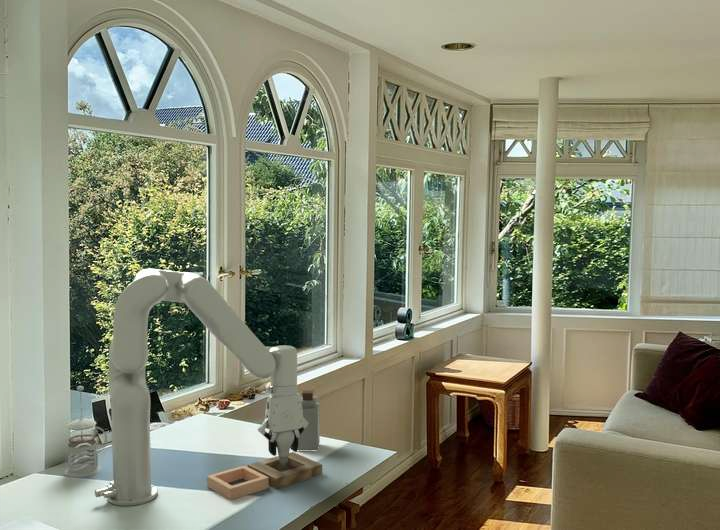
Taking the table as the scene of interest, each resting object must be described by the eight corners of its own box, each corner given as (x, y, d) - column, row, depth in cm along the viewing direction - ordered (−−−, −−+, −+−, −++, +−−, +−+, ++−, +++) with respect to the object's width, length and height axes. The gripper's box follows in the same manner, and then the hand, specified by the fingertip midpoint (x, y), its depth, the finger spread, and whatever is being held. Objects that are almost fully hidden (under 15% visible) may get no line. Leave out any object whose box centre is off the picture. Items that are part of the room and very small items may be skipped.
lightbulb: (280, 469, 201) (281, 430, 200) (268, 463, 206) (268, 425, 205) (298, 464, 205) (298, 426, 204) (285, 458, 210) (286, 421, 209)
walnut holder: (275, 489, 195) (275, 478, 195) (247, 474, 206) (247, 464, 205) (322, 474, 206) (322, 464, 206) (293, 461, 216) (293, 451, 216)
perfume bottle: (317, 451, 225) (317, 394, 224) (296, 451, 226) (295, 394, 224) (319, 444, 232) (319, 389, 231) (298, 444, 232) (298, 389, 231)
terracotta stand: (230, 500, 188) (230, 488, 188) (207, 486, 197) (206, 475, 197) (268, 488, 196) (268, 477, 196) (244, 475, 205) (244, 465, 205)
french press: (63, 468, 211) (60, 384, 209) (104, 461, 216) (102, 379, 214) (66, 479, 202) (63, 391, 200) (109, 472, 208) (107, 387, 205)
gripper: (260, 396, 196) (260, 461, 198) (317, 389, 205) (316, 451, 206) (249, 390, 203) (250, 453, 204) (305, 383, 211) (304, 443, 213)
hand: (283, 451), depth 205 cm, fingers closed on lightbulb, 5 cm apart
